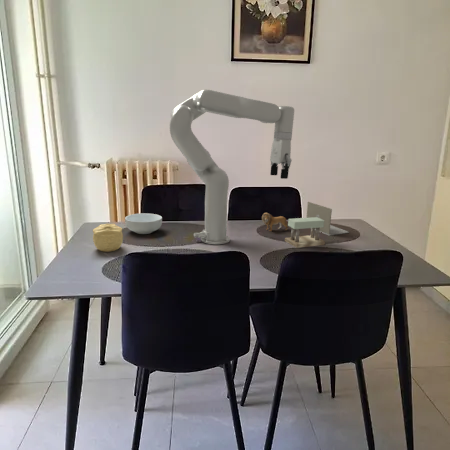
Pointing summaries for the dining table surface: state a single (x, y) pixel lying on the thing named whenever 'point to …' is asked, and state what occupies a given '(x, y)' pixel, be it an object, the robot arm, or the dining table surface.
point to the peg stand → (305, 239)
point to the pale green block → (305, 223)
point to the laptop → (323, 218)
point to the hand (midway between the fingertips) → (278, 176)
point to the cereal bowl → (143, 222)
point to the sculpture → (107, 237)
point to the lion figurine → (273, 221)
